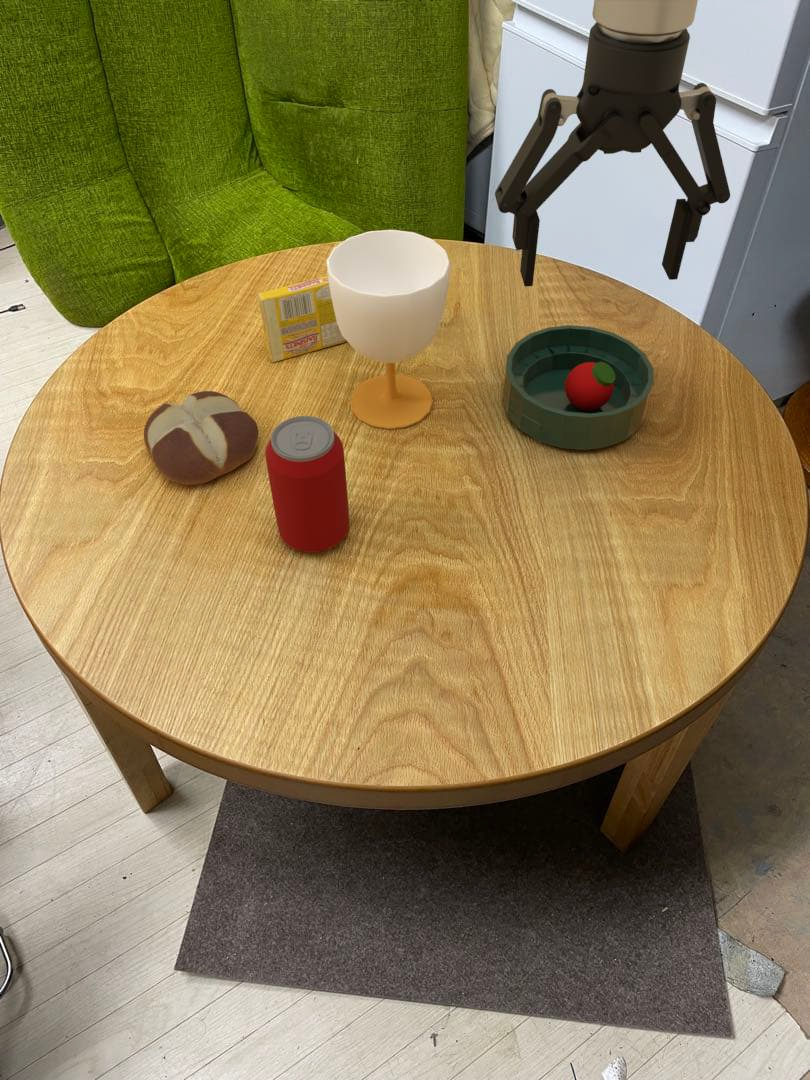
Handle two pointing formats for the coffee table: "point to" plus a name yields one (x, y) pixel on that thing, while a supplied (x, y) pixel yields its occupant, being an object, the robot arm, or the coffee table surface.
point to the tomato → (590, 385)
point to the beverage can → (308, 483)
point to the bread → (200, 437)
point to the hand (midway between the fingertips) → (597, 275)
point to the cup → (389, 316)
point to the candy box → (299, 319)
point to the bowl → (541, 387)
